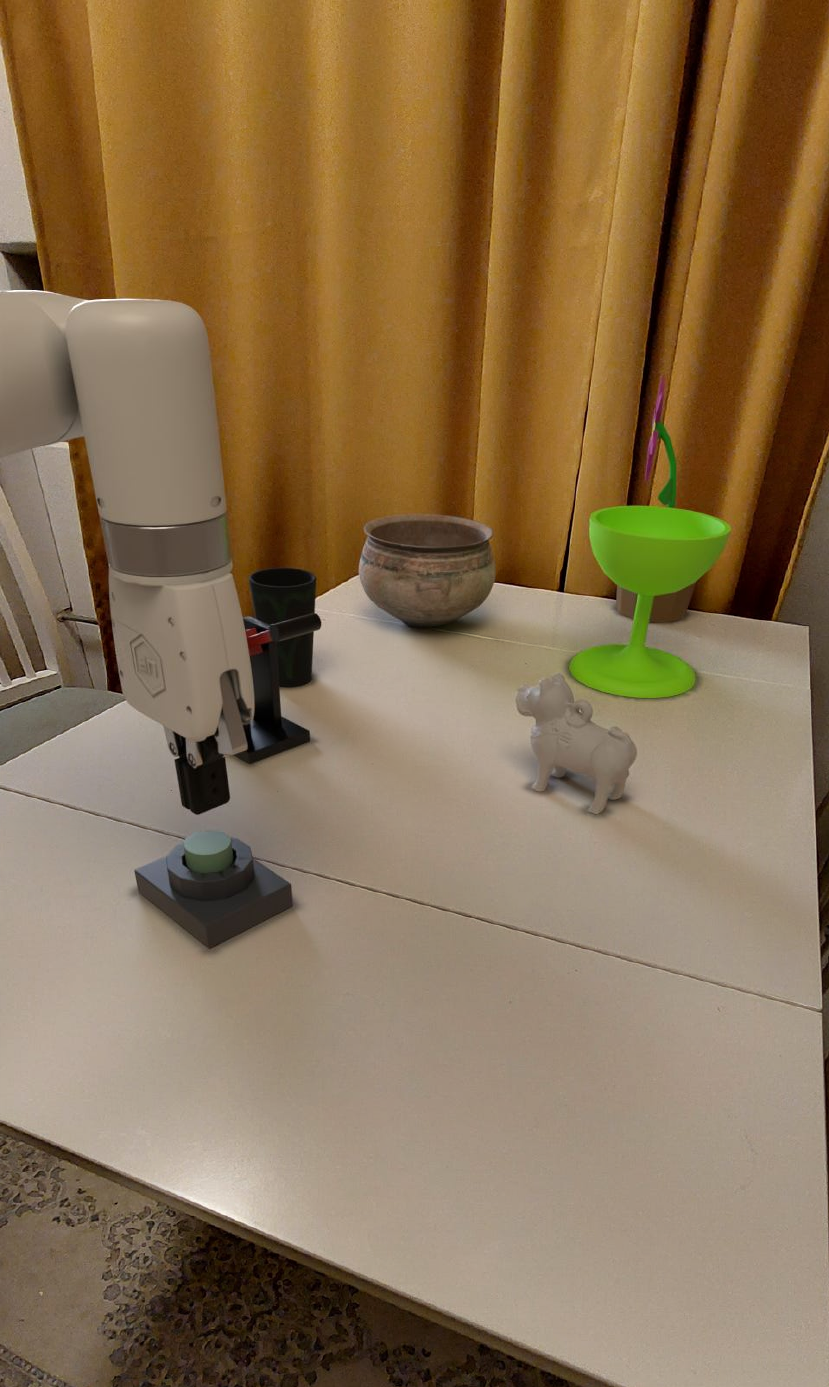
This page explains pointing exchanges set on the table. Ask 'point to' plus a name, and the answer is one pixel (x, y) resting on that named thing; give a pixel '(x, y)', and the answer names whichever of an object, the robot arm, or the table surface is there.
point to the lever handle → (282, 631)
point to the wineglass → (647, 591)
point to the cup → (287, 617)
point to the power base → (214, 893)
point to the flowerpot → (677, 602)
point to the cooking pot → (427, 567)
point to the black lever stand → (268, 706)
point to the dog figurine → (574, 740)
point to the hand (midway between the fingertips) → (206, 804)
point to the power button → (208, 851)
